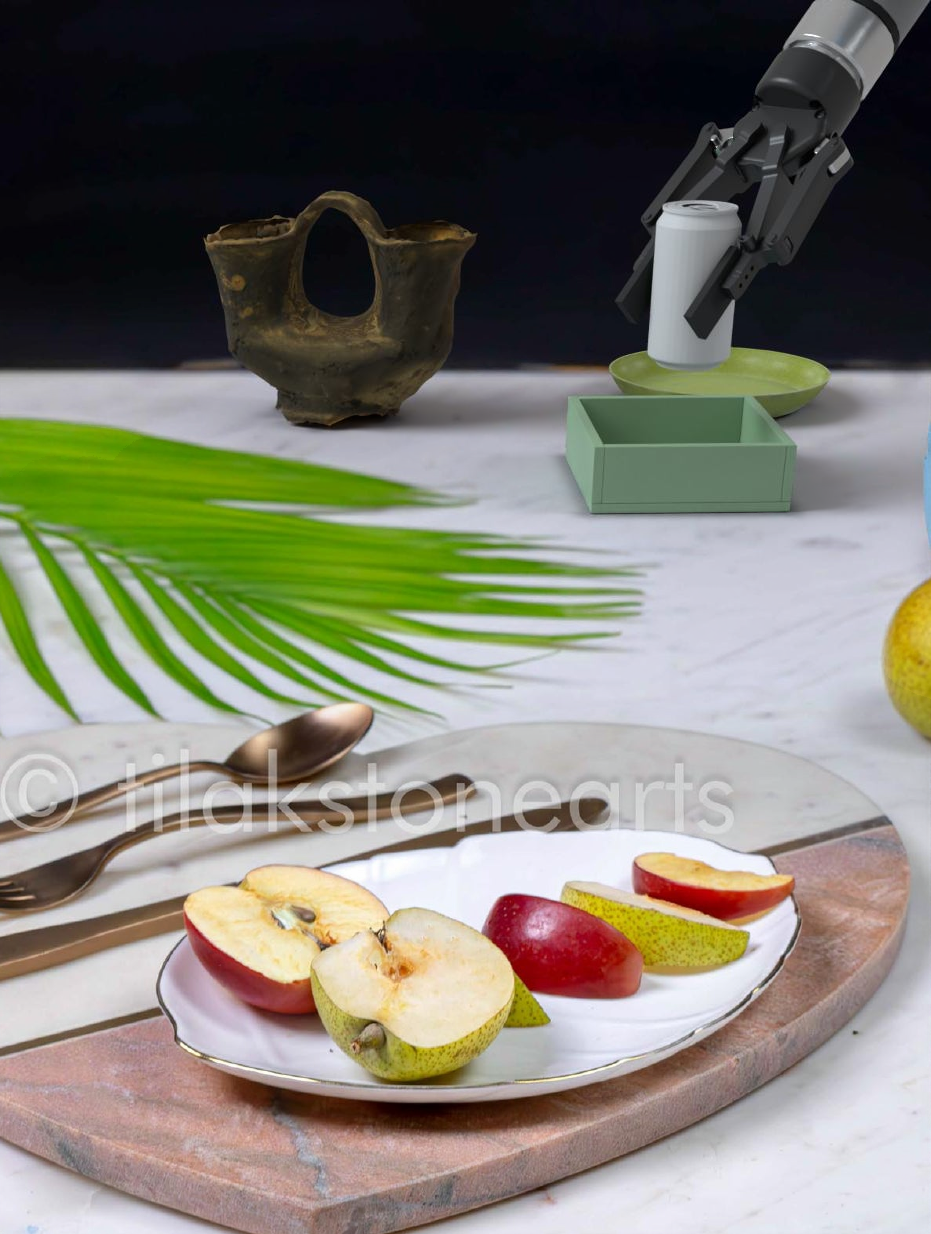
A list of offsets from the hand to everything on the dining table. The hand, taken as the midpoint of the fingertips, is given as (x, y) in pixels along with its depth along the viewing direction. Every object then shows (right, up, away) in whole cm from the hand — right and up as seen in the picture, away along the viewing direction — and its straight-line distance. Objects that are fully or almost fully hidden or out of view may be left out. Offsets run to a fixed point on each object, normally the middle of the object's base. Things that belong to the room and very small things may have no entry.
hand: (659, 319), depth 130 cm
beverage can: (+3, -3, +4) cm, 5 cm away
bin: (+3, -11, +9) cm, 15 cm away
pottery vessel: (-25, -1, +29) cm, 38 cm away
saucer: (+11, +1, +33) cm, 35 cm away
